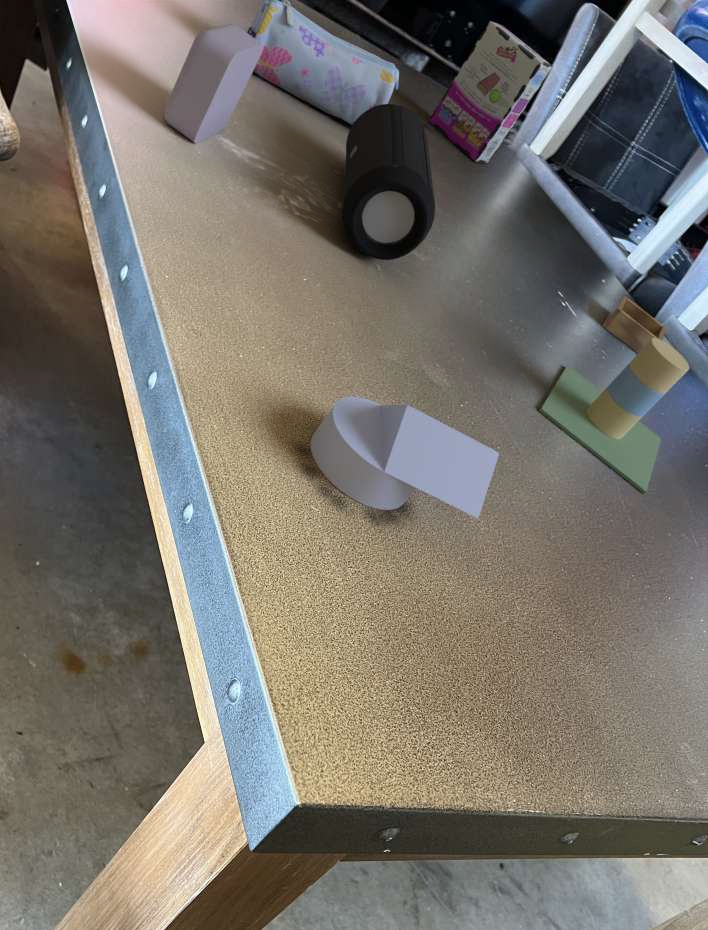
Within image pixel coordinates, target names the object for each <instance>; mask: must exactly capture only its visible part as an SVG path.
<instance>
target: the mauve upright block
mask: <svg viewBox="0 0 708 930" xmlns="http://www.w3.org/2000/svg"><path fill="white" fill-rule="evenodd" d="M262 50H263V44H261V43H260V42H259V41H257V40H256V39H255V38H253V37H252V36H250V35H249V34H248V33H247V31H245V30H244V29H242V28H241V27H239V26H238V25H237V24H234V23H229V24H224V25H220V26H217V27H212V28H207V29H204V30H202V31H200V32H198V34H197V35H196V36H195V38H194V39H193V41H192V44H191V47H190V48H189V51H188V54H187V56H186V57H185V61H184V63H183V65H182V67H181V69H180V72H179V74H178V77H177V79H176V81H175V84H174V86H173V88H172V90H171V93H170V95H169V98H168V99H167V102H166V105H165V107H164V111H163V116H164V118H165V122H166V123H167V124H168V125H169V126H171V127H172V128H173V129H175V130H176V131H177V132H179V133H180V134H182V135H183V136H184V137H186V138H187V139H189V140H190V141H192V142H193V143H194V144H198V143H200V142H202V141H204V140H206V139H208V138H210V137H212V136H214V135H217V134H219V133H221V132H222V131H223V130H224V129H225V128H226V127H227V125H228V123H229V122H230V120H231V118H232V116H233V114H234V111H235V109H236V108H237V105H238V104H239V102H240V99H241V97H242V95H243V93H244V91H245V89H246V87H247V85H248V82H249V80H250V79H251V77H252V74H253V73H254V72H253V70H254V68H255V66H256V64H257V62H258V60H259V58H260V55H261V53H262Z"/></svg>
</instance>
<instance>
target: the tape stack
mask: <svg viewBox="0 0 708 930" xmlns="http://www.w3.org/2000/svg"><path fill="white" fill-rule="evenodd" d="M689 370H690V365H689V363H688V361H687V359H685V357H684V356H683V355H682V354H681V353H680V352H679V351H678V350H677V349H676V348H674V347H673V346H672V345H670V343H668V342H666V341H664V340H663V339H662V340H660V339H657V338H652V339H651V340H650V341H649V342H648V343H647V344H646V345H645V347H644V348H643V349H642V350H641V351H640V352H639V353H638V354H637V353H636V355H635V356H634V357H633V358H632V360H630V362H629V363H628V364H627V365H626V366H624V368H623V369H622V370H621V371H620V372H619V374H618V375H616V376H615V378H614V379H613V380H612V381H611V382H610V383H609V384H608V386H607V387H606V388H605V389H604V390H603V391H602V393H601V394H600V395H599V396H598V397H597V399H596V400H595V401H594V402H593V403H592V404H591V405H590V406H589V407H588V408H587V410H586V413H587V416H588V417H589V419H590V420H591V422H592V423H593V424H594V425H595V426H596V427H597V428H598V429H599V430H600V431H602V432H603V433H604V434H606V435H608V436H609V437H611V438H614V439H621V438H622V437H623V436H624V435H625V434H626V433H627V432H628V431H629V430H630V429H631V428H632V427H633V426H634V425H635V424H636V423H637V422H638V421H640V420H641V419H643V417H644V416H645V415H646V414H647V413H648V412H649V411H650V410H651V409H652V408H653V407H654V406H655V405H656V404H657V403H658V402H659V401H660V400H661V399H662V398H663V397H664V396H665V395H666V394H667V393H668V392H669V391H670V390H671V389H672V388H673V386H675V384H676V383H677V382H678V381H679V380H680V379H681V378H682V377H683V376H684V375H685V374H686V373H687V372H689Z"/></svg>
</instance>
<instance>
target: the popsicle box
mask: <svg viewBox="0 0 708 930" xmlns="http://www.w3.org/2000/svg"><path fill="white" fill-rule="evenodd" d="M553 67H554V66H553V65H552V64H551V63H549V62H548V61H547V60H546V59H545V58H543V57H542V56H541V55H540V54H539V53H537V52H536V51H535V50H533V49H532V48H531V46H528V45H527V44H526V43H525V42H524V41H523V40H521V38H519V37H518V36H517V35H515V34H514V33H512V32H511V31H510V30H509V29H508V28H506V27H505V26H504V25H503V24H500V23H498V22H494V21H491V20H490V21H489V22H488V23H487V25H486V27H485V28H484V30H483V31H482V33H481V35H480V36H479V37H478V40H477V41H476V43H475V45H474V46H473V48H472V49H471V51H470V53H469V54H468V56H467V58H466V59H465V61H464V62H463V64H462V66H461V67H460V69H459V70H458V72H457V74H456V75H455V77H454V79H453V80H452V82H451V84H450V85H449V87H448V88H447V90H446V91H445V93H444V95H443V96H442V98H441V100H440V101H439V103H438V105H437V106H436V107H435V109H434V110H433V112H432V114H431V115H430V117H429V119H428V122H429V123H430V124H431V125H433V127H435V129H436V130H438V131H439V132H440V133H441V134H443V136H445V137H446V138H447V139H448V140H449V141H450V142H451V143H453V144H454V145H455V146H456V147H457V148H458V149H459V150H460V151H462V152H463V153H464V154H465V155H466V156H467V157H468V158H470V159H471V160H472V161H473V162H475V163H480V164H488V163H489V162H490V161H491V159H492V158H493V156H494V155H495V153H496V152H497V150H498V149H499V147H500V146H501V145H502V143H503V141H505V139H506V137H507V135H508V134H509V133H510V131H511V130H512V128H513V127H514V126H515V124H516V123H517V121H518V120H519V118H520V116H521V115H522V113H523V112H524V111H525V110H526V108H527V106H528V105H529V104H530V102H531V100H532V99H533V98H534V96H535V94H536V93H537V91H538V90H539V89H540V87H541V85H542V84H543V83H544V81H545V80H546V78H547V77H548V75H549V74H550V73H551V71H552V69H553Z"/></svg>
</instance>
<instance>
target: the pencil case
mask: <svg viewBox="0 0 708 930" xmlns="http://www.w3.org/2000/svg"><path fill="white" fill-rule="evenodd" d="M246 33H248V34H249V35H250V36H252V37H253V38H255V39H256V40H257V41H259V42H260V43H261V44H263V50H262V53H261V55H260V58H259V60H258V62H257V64H256V66H255V68H254V70H253V72H252V73H255V74H256V75H258V76H259V77H261V78H262V79H263V80H266V81H268V82H269V83H271V84H273V85H275V86H277V87H279V88H280V89H282V90H284V91H286V92H287V93H289V94H291V95H293V96H294V97H296V98H298V99H300V100H301V101H304V102H306V103H308V104H309V105H312V106H313V107H315V108H317V109H318V110H320V111H322V112H324V113H325V114H328V115H330V116H333V117H336V118H338V119H340V120H342V121H344V122H346V123H347V124H349V125H350V126H352V125H353V124H354V122H355V121H356V120H357V119H358V118H359V117H360V116H361V115H362V114H363V113H364V112H365V111H367V110H369V109H370V108H373V107H375V106H378V105H382V104H389V102H390V99H391V98H392V95H393V92H394V89H395V90H397V91H398V89H399V78H400V71H399V69H398V68H397V66H396V65H395V63H393V62H390V61H387V60H385V59H383V58H381V57H380V56H377V55H376V54H374V53H371V52H368V51H367V50H365V49H363V48H361V47H359V46H357V45H355V44H352V43H351V42H348V41H346V40H344V39H341V38H339V37H338V36H335V35H333V34H332V33H330V32H328V31H327V30H325V29H324V28H322V27H321V26H320V25H318V24H316V23H315V22H314V21H312V20H311V19H309V18H308V17H306V16H305V15H304V14H302V13H301V12H300V11H299V10H297V8H295V7H293V6H292V5H291V2H290V0H262V1H261V4H260V6H259V8H258V9H257V11H256V13H255V16H254V17H253V20H252V23H251V25H250V26H249V27H248V29H247V31H246Z"/></svg>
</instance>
